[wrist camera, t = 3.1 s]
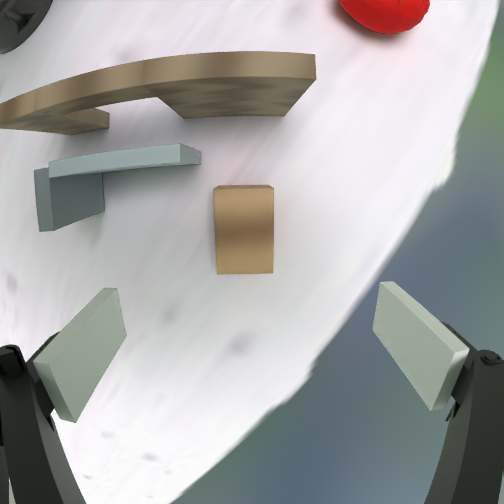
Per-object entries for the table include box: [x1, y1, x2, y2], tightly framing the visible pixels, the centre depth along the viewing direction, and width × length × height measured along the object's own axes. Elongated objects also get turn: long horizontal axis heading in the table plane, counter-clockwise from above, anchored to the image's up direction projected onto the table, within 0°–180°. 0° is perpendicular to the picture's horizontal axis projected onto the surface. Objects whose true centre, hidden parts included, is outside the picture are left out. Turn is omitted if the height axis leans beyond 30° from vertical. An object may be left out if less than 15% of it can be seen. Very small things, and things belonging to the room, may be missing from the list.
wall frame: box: [0, 51, 316, 135], centre depth 25 cm, size 28×2×16 cm, turn 91°
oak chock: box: [214, 185, 274, 274], centre depth 34 cm, size 9×6×6 cm, turn 0°
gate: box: [34, 144, 201, 232], centre depth 29 cm, size 15×6×12 cm, turn 91°
